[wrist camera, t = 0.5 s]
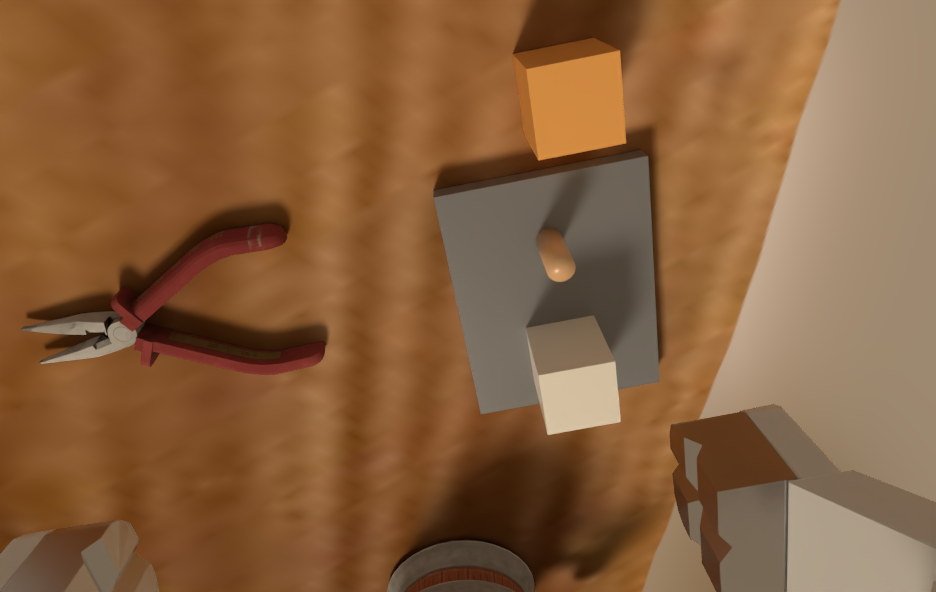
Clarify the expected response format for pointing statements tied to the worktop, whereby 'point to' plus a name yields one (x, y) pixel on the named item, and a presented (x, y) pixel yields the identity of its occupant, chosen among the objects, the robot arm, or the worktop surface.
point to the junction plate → (556, 286)
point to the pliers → (152, 339)
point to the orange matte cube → (571, 97)
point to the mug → (462, 569)
